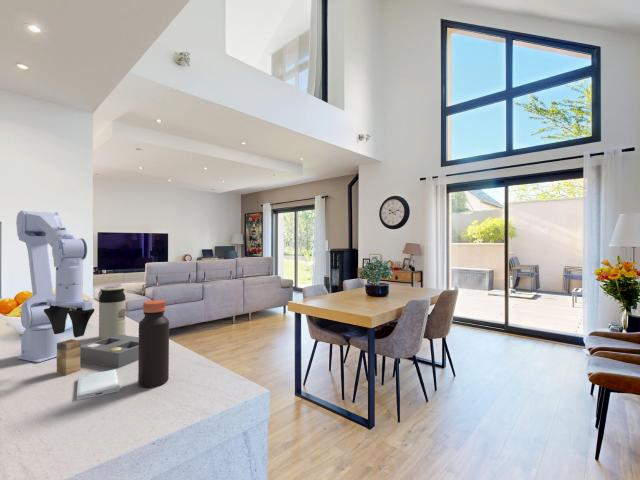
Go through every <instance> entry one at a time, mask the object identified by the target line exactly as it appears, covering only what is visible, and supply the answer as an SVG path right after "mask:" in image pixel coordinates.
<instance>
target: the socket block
mask: <svg viewBox="0 0 640 480" xmlns="http://www.w3.org/2000/svg"><path fill="white" fill-rule="evenodd" d="M138 352H139V336H133V335H126V334H125V335H119V334H118V335H115V336H112V337H108V338H105V339H102V340H101V339H98V340H95V341H93V342H88V343H86V344H82V345H81V346H80V362H85V363H90V364H91V363H92V364H96V365H101V366H106V367H112V368H118V369H119V368H122V367H125V366H126V365H127V366H128V365H129V364H132V363H134V362H137V361H138Z"/></svg>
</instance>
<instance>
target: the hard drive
mask: <svg viewBox="0 0 640 480" xmlns="http://www.w3.org/2000/svg"><path fill="white" fill-rule="evenodd" d="M117 371H118V370H117V369H110V370H104V371H100V372H94V373H90V374H85V375H80V376H78V377H77V389H76V401H81V400H86V399H90V398H95V397H99V396H103V395H108V394H113V393H116V392H120V391H121V388H120V387H121V386H120V381H119V377H118V373H117Z"/></svg>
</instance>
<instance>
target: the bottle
mask: <svg viewBox="0 0 640 480" xmlns="http://www.w3.org/2000/svg"><path fill="white" fill-rule="evenodd" d="M142 305H143V307H142V311H143V314H144V317H143V318H142V319H141V320H140V321H139V322H138V337H139V352H138V360H137V361H138V362H137V363H138V365H137V366H138V367H137V368H138V369H137V370H138V373H137V375H138V376H137V377H138V379H137V384H138V386H140V387H142V388H149V389H150V388H154V387H159V386H162V385H164V384H165V383H167V382H168V380H169V371H170V369H169V368H170V363H169V361H170V360H169V359H170V356H169V355H170V321H169V319H168V318H167V316H165V315H164V314H165V312H166V300H163V299H156V300H155V299H154V300H147V301H144V302H143V303H142Z"/></svg>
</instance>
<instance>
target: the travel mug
mask: <svg viewBox="0 0 640 480" xmlns="http://www.w3.org/2000/svg"><path fill="white" fill-rule="evenodd" d="M99 290H100V292H101V293H100V295H99V297H98V340H102V339H105V338H108V337H112V336H115V335H118V334H119V335H126V295H125V292H124V290H125V286H123V285H111V286H103V287H99Z"/></svg>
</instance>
